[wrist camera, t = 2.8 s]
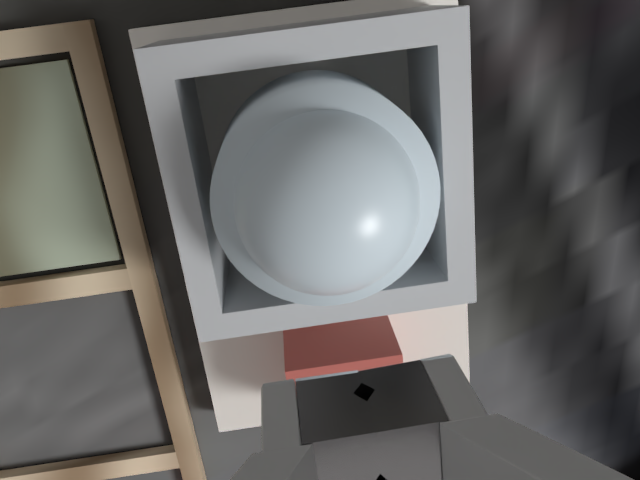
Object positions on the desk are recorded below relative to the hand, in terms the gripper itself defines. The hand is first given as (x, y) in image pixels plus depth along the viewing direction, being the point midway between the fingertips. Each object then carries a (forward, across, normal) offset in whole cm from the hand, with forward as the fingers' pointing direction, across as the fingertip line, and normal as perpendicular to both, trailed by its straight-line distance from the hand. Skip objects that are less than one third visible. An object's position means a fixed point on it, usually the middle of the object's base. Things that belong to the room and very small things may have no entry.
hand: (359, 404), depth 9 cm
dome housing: (+17, -1, +3) cm, 17 cm away
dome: (+13, -1, 0) cm, 13 cm away
